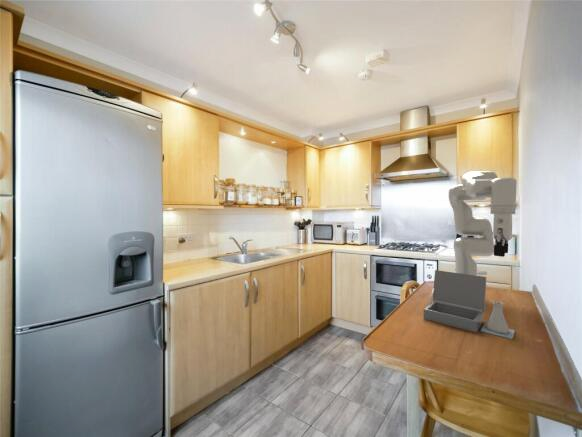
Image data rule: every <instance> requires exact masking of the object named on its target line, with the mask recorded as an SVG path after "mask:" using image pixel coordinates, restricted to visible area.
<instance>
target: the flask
mask: <svg viewBox="0 0 582 437" xmlns="http://www.w3.org/2000/svg"><path fill="white" fill-rule="evenodd" d="M492 304H493V305H492V306H493V308H492V312H491V314H490V316H489V318H488V320H487V323H486V326H485V327H486V328H487V329H488V330H491V331H494V332H498V333H504V334H507V333H509V332H510V331H509V329H510V328H509V326H508V323H507V321H506V318H505V315H504V312H503V307H504V303H503V302H499V301H492Z"/></svg>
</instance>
